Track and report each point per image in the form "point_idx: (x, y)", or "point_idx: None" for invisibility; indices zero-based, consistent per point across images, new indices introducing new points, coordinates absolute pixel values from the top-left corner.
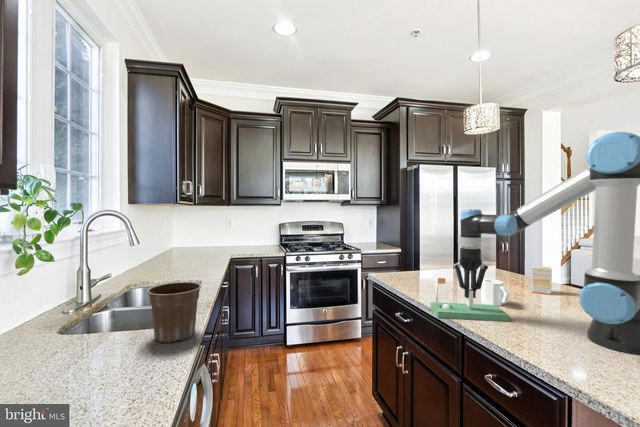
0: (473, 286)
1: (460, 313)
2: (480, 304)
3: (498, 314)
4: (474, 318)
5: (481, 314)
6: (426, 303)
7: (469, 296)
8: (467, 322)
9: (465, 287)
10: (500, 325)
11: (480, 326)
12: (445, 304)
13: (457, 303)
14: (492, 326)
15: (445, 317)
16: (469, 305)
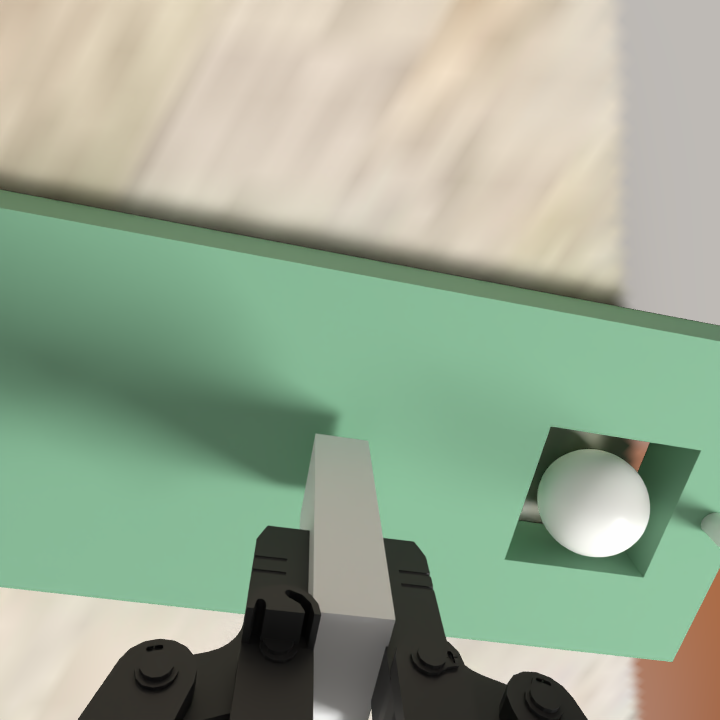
0: (303, 704)
1: (554, 309)
2: (105, 594)
3: (40, 223)
4: (372, 263)
5: (286, 258)
6: (604, 713)
7: (378, 538)
8: (513, 175)
9: (467, 707)
10: (132, 41)
11: (429, 23)
12: (625, 536)
13: None
14: (265, 11)
15: (693, 323)
16: (366, 450)
